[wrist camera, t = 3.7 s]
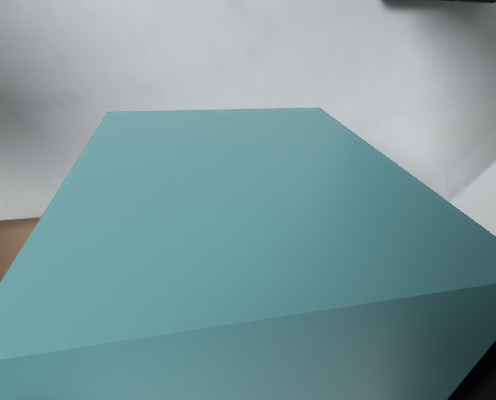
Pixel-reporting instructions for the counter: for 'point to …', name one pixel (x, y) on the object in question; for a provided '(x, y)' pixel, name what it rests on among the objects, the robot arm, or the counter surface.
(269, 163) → the teal cube
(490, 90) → the counter surface
